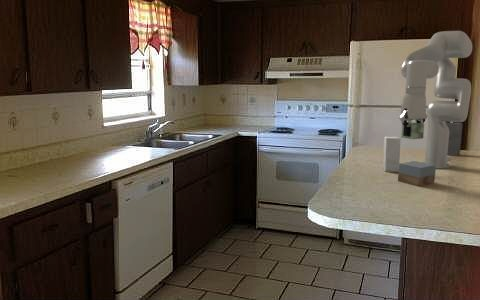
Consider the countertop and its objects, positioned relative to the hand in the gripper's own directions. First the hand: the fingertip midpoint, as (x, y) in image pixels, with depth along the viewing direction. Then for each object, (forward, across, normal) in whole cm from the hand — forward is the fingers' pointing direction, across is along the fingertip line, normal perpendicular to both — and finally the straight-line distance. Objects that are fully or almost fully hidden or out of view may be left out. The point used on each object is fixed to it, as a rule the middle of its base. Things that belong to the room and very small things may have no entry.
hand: (412, 135), depth 185 cm
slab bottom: (+20, -1, +3) cm, 20 cm away
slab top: (+16, -1, +3) cm, 16 cm away
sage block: (+1, 0, 0) cm, 1 cm away
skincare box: (+20, -9, -19) cm, 29 cm away
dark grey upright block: (+20, -68, -33) cm, 78 cm away
